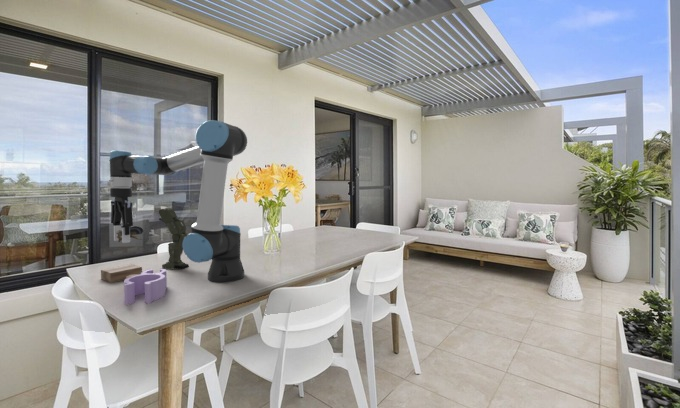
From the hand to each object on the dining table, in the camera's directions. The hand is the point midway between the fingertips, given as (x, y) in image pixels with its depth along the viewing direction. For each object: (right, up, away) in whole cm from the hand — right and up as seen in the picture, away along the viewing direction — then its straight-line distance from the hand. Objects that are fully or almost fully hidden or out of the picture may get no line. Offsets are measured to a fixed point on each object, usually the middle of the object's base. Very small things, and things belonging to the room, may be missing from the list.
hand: (121, 241), depth 136 cm
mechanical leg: (+13, -15, +18) cm, 27 cm away
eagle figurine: (+2, 0, +2) cm, 3 cm away
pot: (+14, -17, -13) cm, 25 cm away
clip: (+23, -18, -19) cm, 35 cm away
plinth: (0, -16, +1) cm, 16 cm away
